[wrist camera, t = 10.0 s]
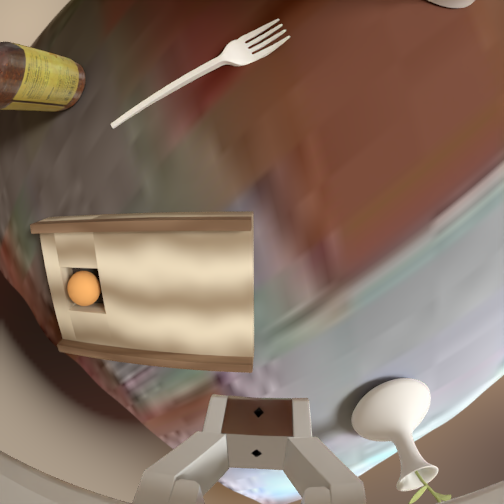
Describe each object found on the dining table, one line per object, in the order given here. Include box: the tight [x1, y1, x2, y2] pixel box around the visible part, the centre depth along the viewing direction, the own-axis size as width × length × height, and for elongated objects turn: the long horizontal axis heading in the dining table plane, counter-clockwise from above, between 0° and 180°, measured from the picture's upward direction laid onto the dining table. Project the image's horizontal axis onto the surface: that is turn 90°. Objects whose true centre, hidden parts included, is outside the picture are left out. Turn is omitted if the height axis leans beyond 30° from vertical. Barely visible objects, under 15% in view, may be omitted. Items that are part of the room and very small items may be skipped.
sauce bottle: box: [0, 42, 86, 112], centre depth 19 cm, size 6×6×20 cm
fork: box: [111, 19, 290, 129], centre depth 28 cm, size 3×20×2 cm, turn 117°
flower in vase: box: [351, 378, 451, 504], centre depth 26 cm, size 13×11×25 cm
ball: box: [67, 271, 101, 306], centre depth 33 cm, size 4×4×4 cm
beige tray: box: [30, 212, 254, 373], centre depth 33 cm, size 16×24×4 cm, turn 90°
